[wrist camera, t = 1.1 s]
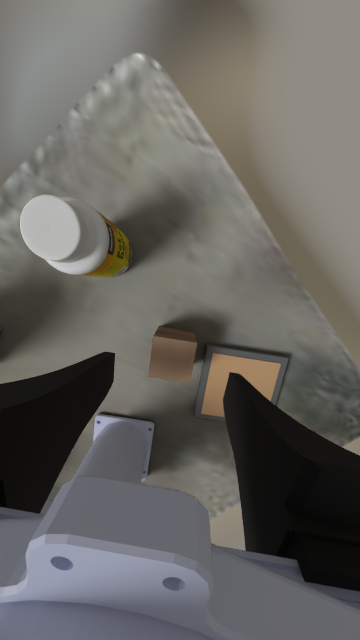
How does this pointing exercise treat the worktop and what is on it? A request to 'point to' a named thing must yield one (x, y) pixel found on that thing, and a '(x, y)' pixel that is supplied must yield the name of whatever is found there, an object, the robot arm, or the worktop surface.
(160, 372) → the cube
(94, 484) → the robot arm
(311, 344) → the worktop surface
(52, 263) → the supplement bottle
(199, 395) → the coaster
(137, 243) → the worktop surface
